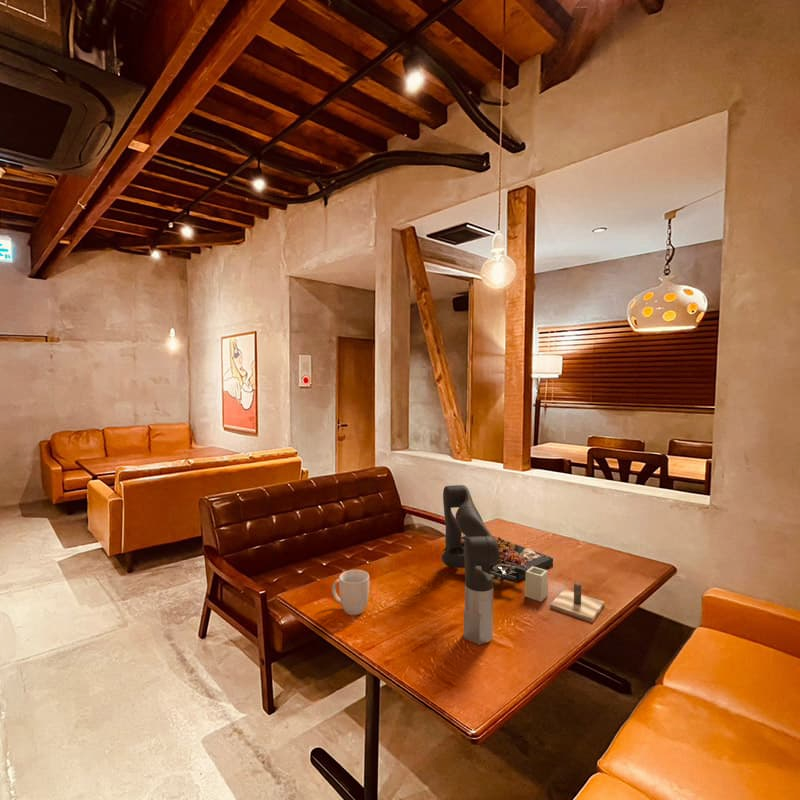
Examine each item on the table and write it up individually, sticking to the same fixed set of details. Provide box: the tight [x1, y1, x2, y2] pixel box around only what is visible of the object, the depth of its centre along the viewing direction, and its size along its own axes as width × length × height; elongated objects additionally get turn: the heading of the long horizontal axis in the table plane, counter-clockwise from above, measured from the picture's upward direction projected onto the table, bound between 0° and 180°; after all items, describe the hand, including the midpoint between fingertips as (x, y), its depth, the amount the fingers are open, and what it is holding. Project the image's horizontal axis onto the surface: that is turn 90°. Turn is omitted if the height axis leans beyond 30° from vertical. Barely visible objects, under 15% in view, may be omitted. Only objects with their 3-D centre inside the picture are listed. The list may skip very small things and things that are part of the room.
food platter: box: [445, 534, 554, 582], centre depth 208 cm, size 45×25×10 cm, turn 37°
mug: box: [331, 569, 370, 616], centre depth 160 cm, size 15×11×13 cm
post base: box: [549, 582, 605, 623], centre depth 162 cm, size 15×15×8 cm
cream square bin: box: [524, 566, 549, 602], centre depth 170 cm, size 6×6×10 cm
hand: (520, 576), depth 175 cm, fingers open, 8 cm apart
